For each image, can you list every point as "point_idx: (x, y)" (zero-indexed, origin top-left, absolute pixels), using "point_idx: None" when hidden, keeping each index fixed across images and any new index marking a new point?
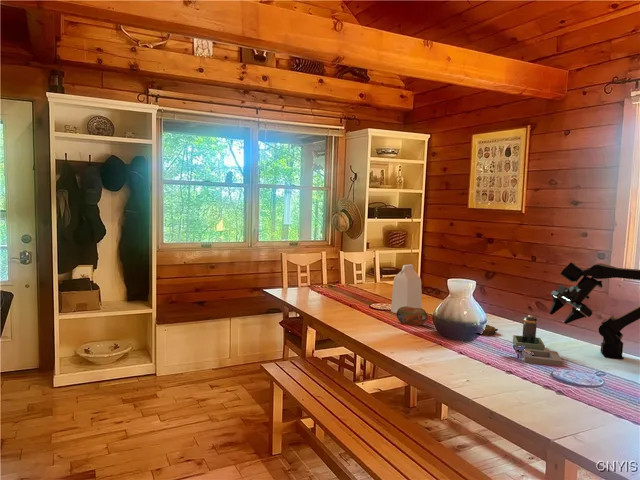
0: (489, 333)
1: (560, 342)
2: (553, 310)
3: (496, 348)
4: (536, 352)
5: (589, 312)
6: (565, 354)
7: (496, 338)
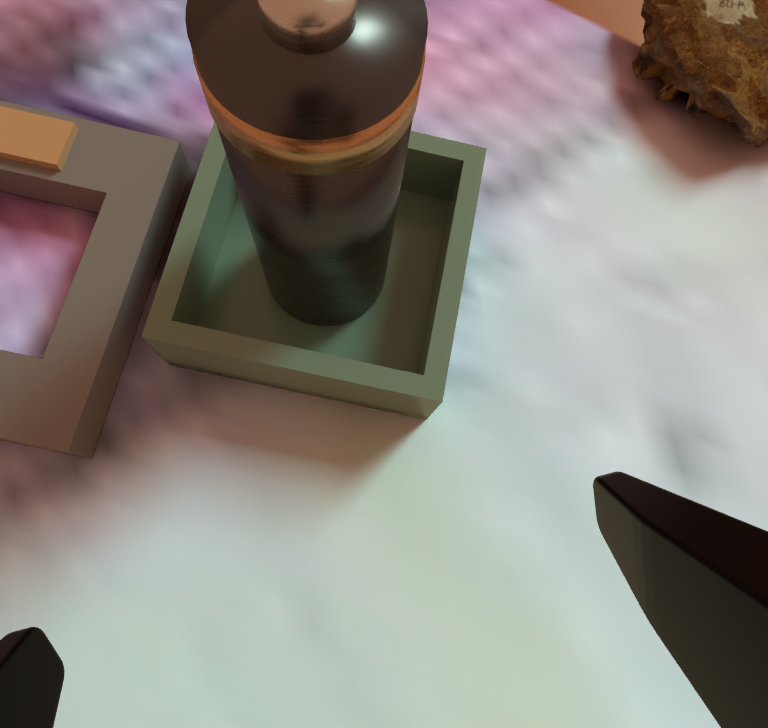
0: (651, 61)
1: (599, 718)
2: (667, 584)
3: None
4: (92, 252)
5: None
6: (167, 591)
7: (573, 107)
